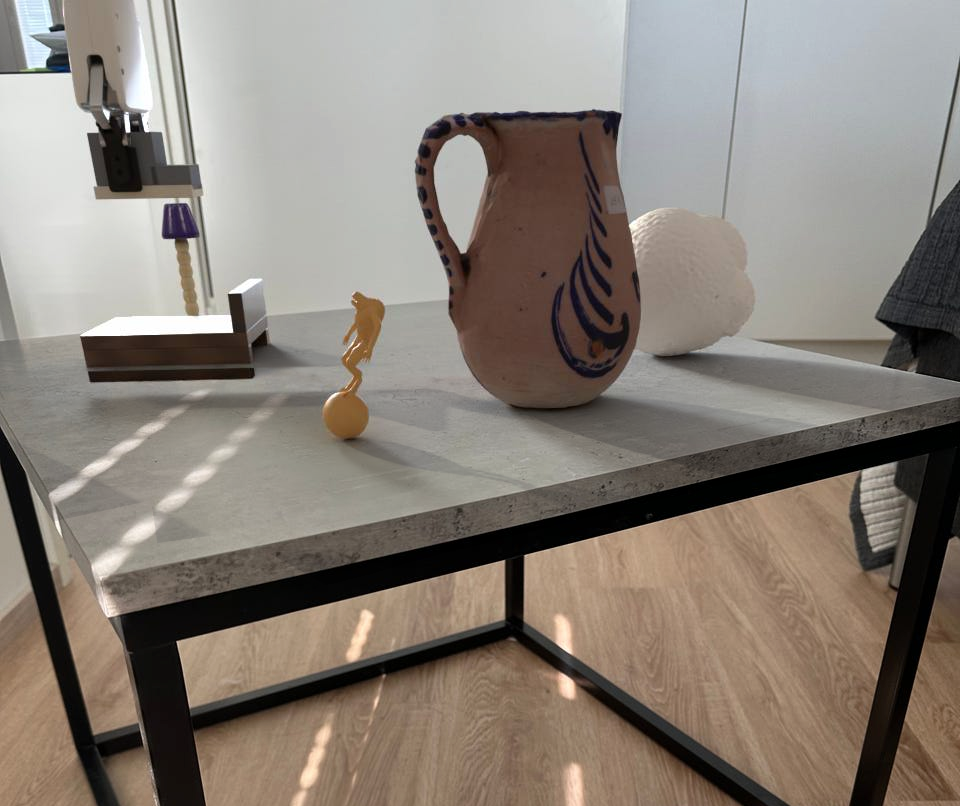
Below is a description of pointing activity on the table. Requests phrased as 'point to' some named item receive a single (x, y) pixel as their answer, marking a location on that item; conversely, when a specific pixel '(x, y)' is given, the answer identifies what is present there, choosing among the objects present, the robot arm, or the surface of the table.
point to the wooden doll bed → (181, 342)
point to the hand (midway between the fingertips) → (134, 188)
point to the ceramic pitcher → (540, 255)
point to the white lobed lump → (689, 281)
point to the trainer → (148, 171)
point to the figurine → (355, 370)
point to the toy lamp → (182, 248)
